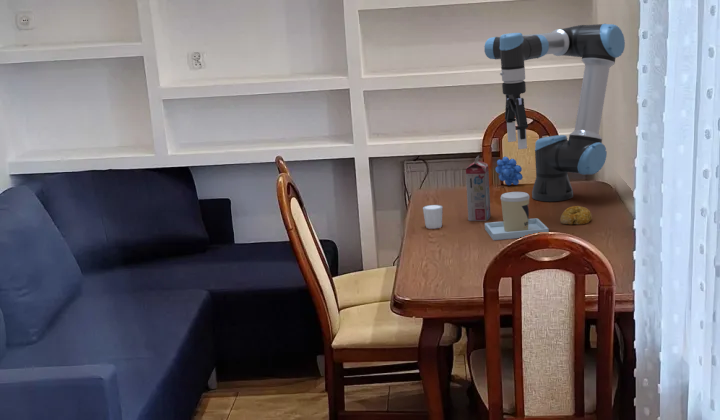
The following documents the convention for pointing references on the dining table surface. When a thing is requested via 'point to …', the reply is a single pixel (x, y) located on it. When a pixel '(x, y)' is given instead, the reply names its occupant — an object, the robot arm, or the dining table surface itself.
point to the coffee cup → (515, 211)
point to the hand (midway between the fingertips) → (517, 145)
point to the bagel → (576, 215)
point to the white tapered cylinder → (433, 216)
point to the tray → (499, 233)
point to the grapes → (509, 171)
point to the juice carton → (478, 191)
